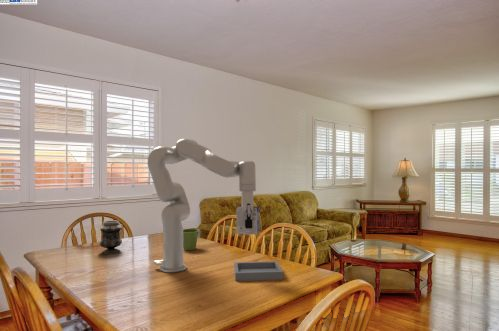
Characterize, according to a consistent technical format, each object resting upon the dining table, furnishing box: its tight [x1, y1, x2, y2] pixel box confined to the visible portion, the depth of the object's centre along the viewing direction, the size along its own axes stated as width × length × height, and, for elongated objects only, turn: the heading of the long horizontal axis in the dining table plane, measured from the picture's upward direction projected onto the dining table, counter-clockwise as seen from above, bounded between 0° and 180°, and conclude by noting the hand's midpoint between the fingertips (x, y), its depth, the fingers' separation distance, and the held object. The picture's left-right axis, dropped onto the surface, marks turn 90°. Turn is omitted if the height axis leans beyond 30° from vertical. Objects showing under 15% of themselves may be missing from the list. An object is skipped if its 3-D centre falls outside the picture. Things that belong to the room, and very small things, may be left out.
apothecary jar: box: [99, 220, 123, 255], centre depth 195 cm, size 12×12×18 cm
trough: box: [233, 260, 284, 282], centre depth 154 cm, size 21×16×4 cm
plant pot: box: [183, 228, 200, 251], centre depth 201 cm, size 12×12×11 cm
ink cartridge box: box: [236, 206, 260, 235], centre depth 154 cm, size 10×6×14 cm, turn 79°
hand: (248, 226), depth 154 cm, fingers closed on ink cartridge box, 6 cm apart
